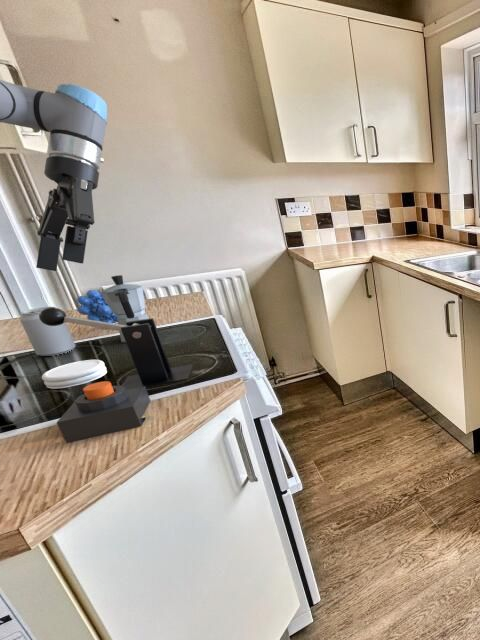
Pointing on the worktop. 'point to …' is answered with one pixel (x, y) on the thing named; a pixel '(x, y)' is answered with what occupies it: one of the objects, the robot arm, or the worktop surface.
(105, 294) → the coffee maker
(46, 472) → the worktop surface
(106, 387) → the stop button
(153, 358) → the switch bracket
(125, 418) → the control block
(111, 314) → the grapes
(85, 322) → the lever
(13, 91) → the robot arm
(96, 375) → the white thick disc
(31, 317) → the can
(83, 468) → the worktop surface
